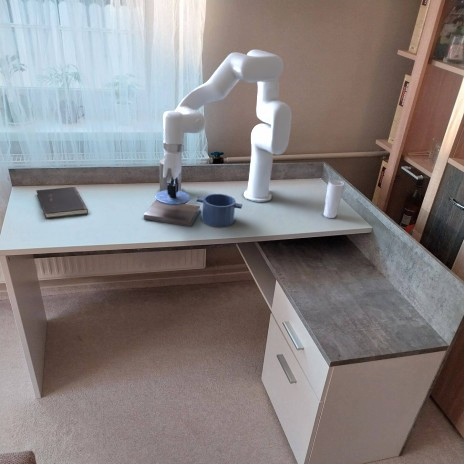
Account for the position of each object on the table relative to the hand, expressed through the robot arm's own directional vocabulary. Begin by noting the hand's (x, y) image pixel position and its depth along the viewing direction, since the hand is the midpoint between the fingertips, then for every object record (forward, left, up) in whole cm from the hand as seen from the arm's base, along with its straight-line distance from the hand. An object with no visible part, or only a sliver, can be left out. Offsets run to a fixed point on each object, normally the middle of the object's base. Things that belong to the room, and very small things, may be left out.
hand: (172, 192), depth 191 cm
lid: (0, 0, -2) cm, 2 cm away
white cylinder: (-23, +64, -10) cm, 68 cm away
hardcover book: (+7, -44, -10) cm, 46 cm away
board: (0, 0, -9) cm, 9 cm away
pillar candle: (-22, -7, -10) cm, 25 cm away
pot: (-2, +19, -9) cm, 21 cm away
